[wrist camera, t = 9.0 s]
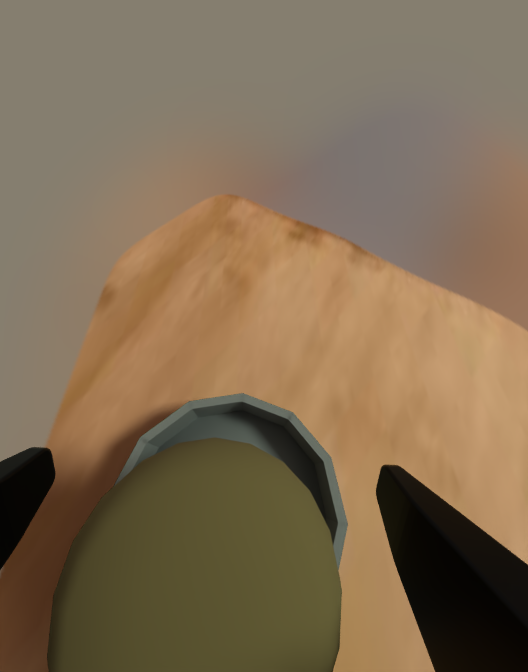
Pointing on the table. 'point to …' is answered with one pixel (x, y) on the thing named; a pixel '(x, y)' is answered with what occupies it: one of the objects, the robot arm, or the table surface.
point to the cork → (200, 570)
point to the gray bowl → (261, 431)
